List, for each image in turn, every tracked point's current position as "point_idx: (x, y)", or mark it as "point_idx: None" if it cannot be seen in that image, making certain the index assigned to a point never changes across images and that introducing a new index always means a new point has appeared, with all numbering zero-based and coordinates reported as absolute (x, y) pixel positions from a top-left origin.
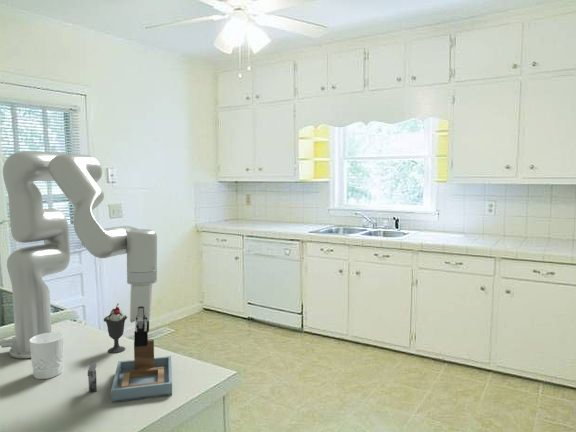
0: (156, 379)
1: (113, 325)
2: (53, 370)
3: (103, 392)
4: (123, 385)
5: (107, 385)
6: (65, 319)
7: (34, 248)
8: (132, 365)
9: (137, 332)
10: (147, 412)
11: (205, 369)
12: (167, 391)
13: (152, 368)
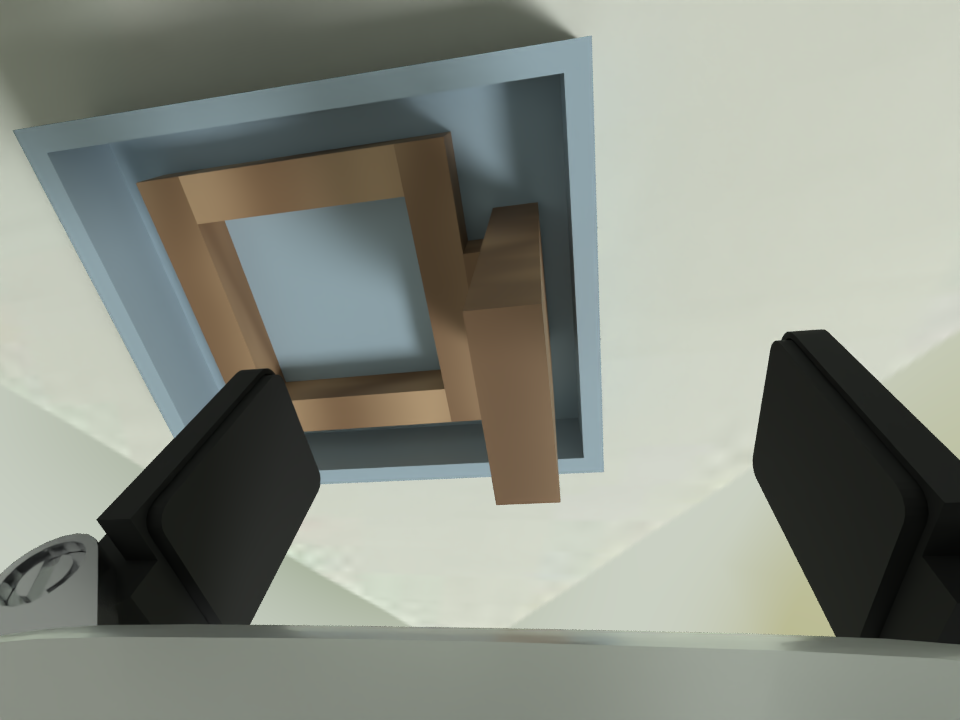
0: (386, 365)
1: None
2: None
3: (217, 5)
4: (190, 190)
5: (332, 4)
6: None
7: None
8: (567, 183)
9: (136, 543)
10: (56, 351)
11: (515, 569)
12: None
13: (465, 353)
